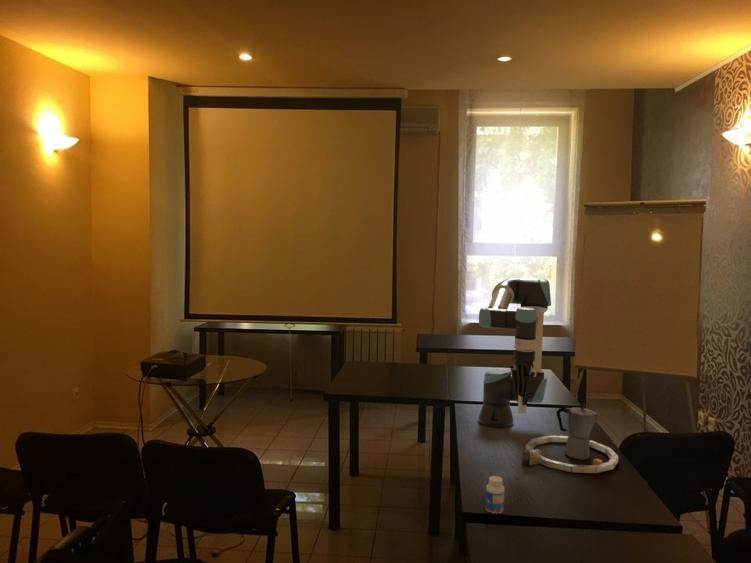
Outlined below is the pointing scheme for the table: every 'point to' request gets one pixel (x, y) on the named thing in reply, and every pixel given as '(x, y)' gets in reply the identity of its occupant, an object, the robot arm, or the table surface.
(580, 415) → the moka pot
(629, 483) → the table surface
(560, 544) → the table surface
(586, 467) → the indicator ring
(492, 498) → the pill bottle
